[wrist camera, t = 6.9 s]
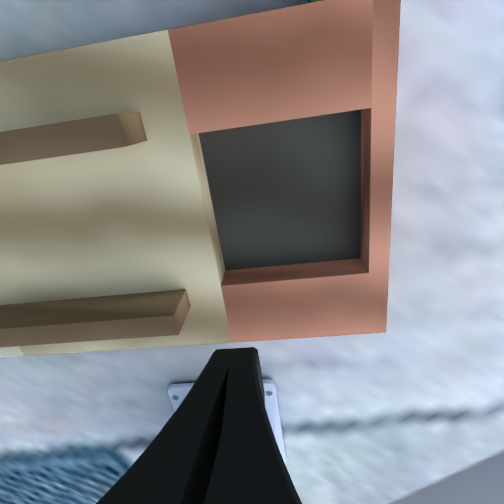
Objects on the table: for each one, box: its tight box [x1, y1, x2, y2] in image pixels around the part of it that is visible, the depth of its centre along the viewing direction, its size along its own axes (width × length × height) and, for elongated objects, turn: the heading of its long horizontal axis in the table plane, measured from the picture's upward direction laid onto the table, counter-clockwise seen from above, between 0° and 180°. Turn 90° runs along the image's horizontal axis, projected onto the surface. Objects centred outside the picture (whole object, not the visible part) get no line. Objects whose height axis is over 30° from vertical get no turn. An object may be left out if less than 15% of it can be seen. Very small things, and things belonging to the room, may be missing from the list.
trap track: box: [0, 0, 401, 358], centre depth 17 cm, size 16×31×4 cm, turn 98°
